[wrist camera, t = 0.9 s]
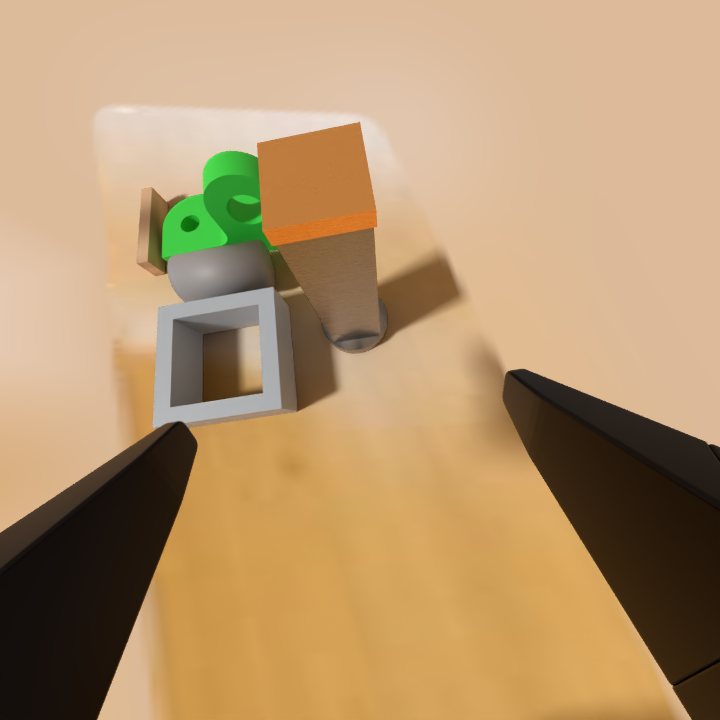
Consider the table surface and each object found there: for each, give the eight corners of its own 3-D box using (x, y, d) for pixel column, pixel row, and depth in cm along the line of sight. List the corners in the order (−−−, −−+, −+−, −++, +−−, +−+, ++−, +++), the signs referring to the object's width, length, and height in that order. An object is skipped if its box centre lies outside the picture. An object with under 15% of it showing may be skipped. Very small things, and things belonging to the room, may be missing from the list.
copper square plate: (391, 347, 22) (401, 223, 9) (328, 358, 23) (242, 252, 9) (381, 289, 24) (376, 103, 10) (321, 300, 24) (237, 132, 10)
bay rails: (322, 245, 25) (316, 229, 23) (155, 275, 26) (136, 263, 24) (313, 175, 27) (308, 155, 25) (158, 205, 28) (141, 189, 26)
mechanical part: (295, 193, 27) (259, 99, 19) (301, 245, 26) (265, 166, 18) (179, 218, 28) (98, 136, 20) (178, 270, 26) (91, 204, 19)
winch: (297, 411, 22) (278, 407, 18) (188, 427, 22) (146, 427, 18) (284, 256, 25) (266, 225, 21) (190, 273, 26) (156, 246, 22)
